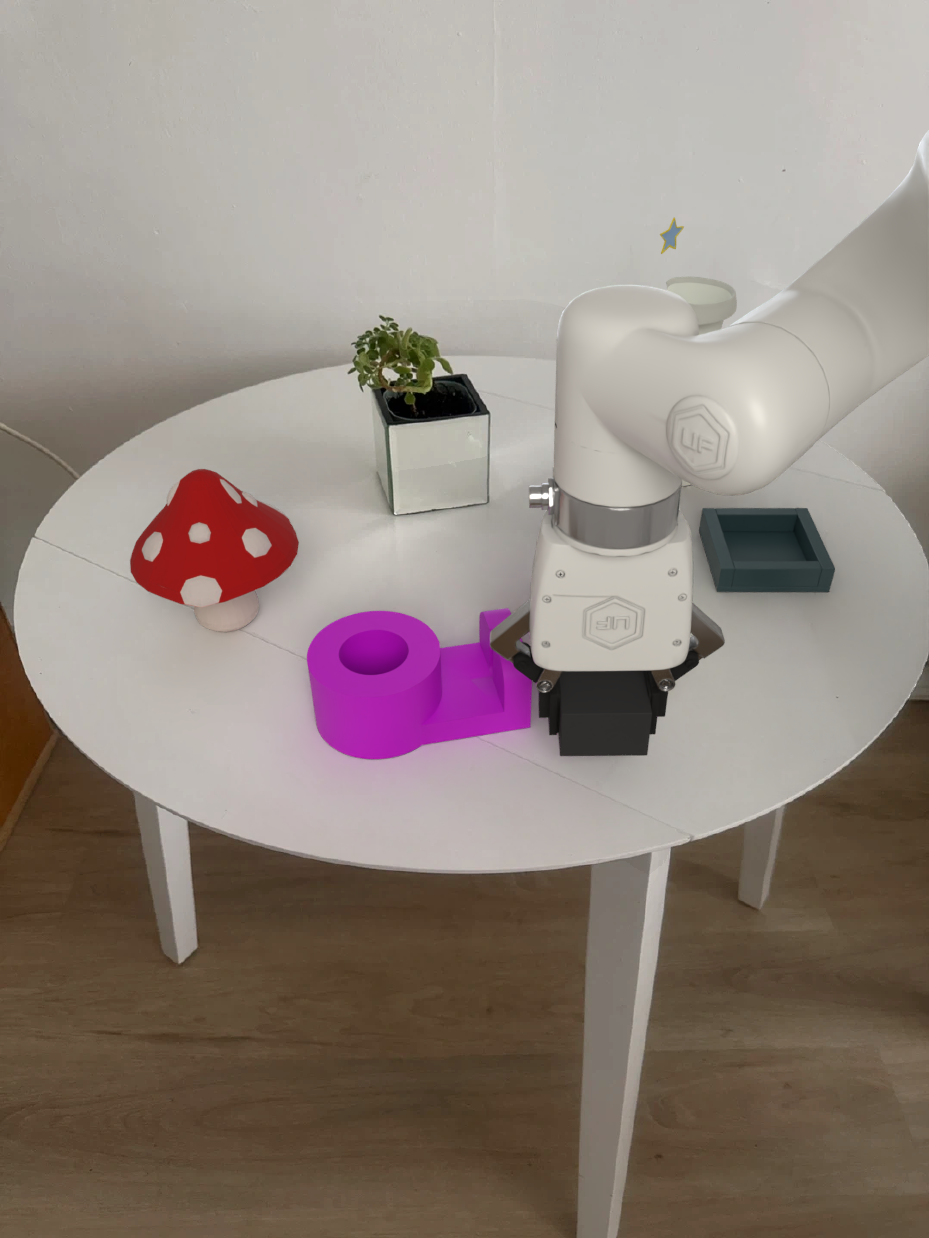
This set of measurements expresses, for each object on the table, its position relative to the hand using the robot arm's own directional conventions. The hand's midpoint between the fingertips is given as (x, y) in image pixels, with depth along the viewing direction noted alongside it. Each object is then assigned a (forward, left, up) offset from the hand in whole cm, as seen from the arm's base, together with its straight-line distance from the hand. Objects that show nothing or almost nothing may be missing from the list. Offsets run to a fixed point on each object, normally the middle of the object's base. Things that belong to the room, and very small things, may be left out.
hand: (600, 719), depth 70 cm
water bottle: (-12, -43, -5) cm, 45 cm away
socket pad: (-18, -26, -4) cm, 32 cm away
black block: (0, 0, -1) cm, 1 cm away
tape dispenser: (+13, -6, -5) cm, 15 cm away
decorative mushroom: (+30, -17, -5) cm, 35 cm away
